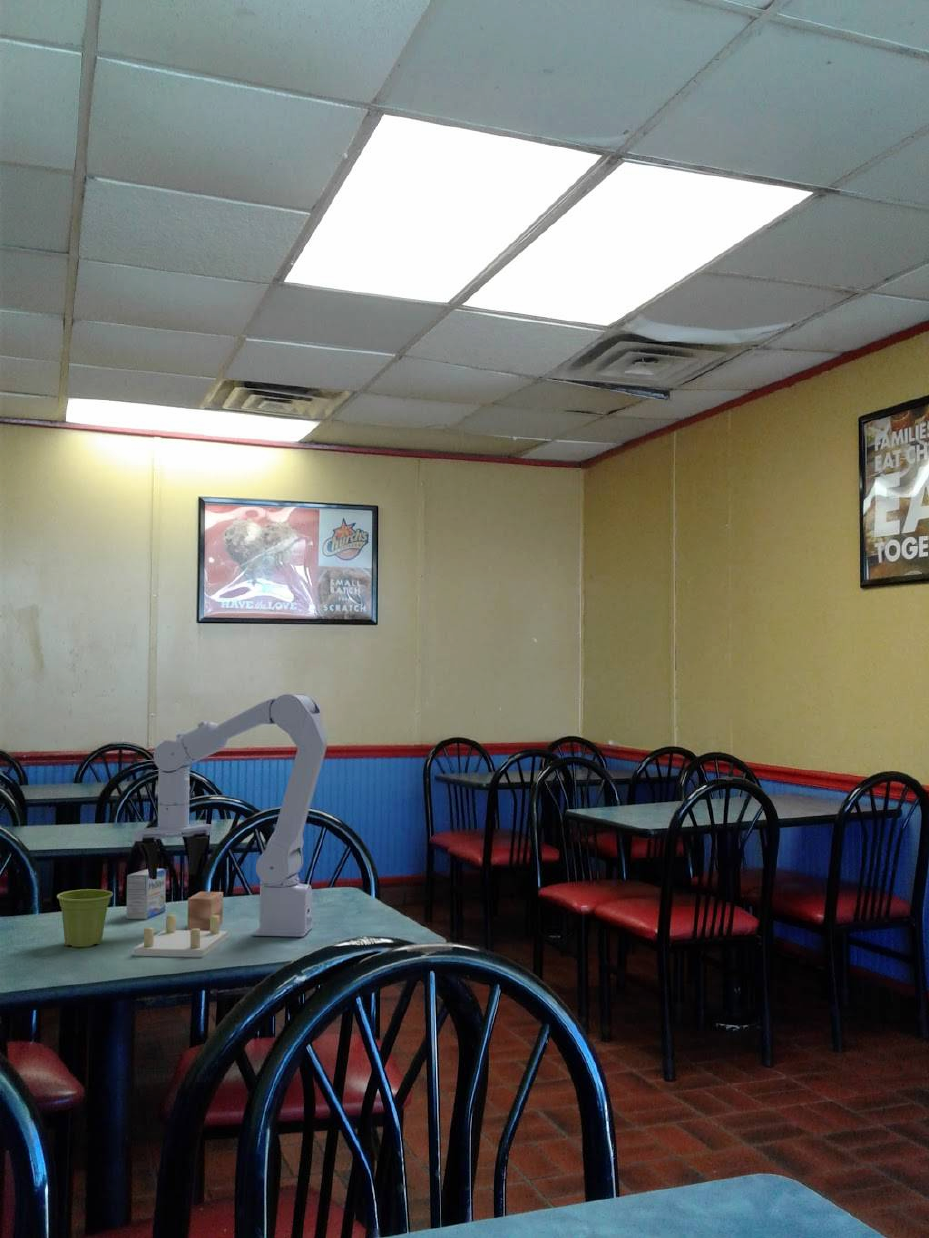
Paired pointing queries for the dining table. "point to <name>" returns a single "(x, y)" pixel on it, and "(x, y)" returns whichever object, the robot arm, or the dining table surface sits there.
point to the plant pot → (84, 916)
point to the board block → (204, 909)
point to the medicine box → (145, 894)
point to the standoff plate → (181, 940)
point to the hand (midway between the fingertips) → (172, 876)
